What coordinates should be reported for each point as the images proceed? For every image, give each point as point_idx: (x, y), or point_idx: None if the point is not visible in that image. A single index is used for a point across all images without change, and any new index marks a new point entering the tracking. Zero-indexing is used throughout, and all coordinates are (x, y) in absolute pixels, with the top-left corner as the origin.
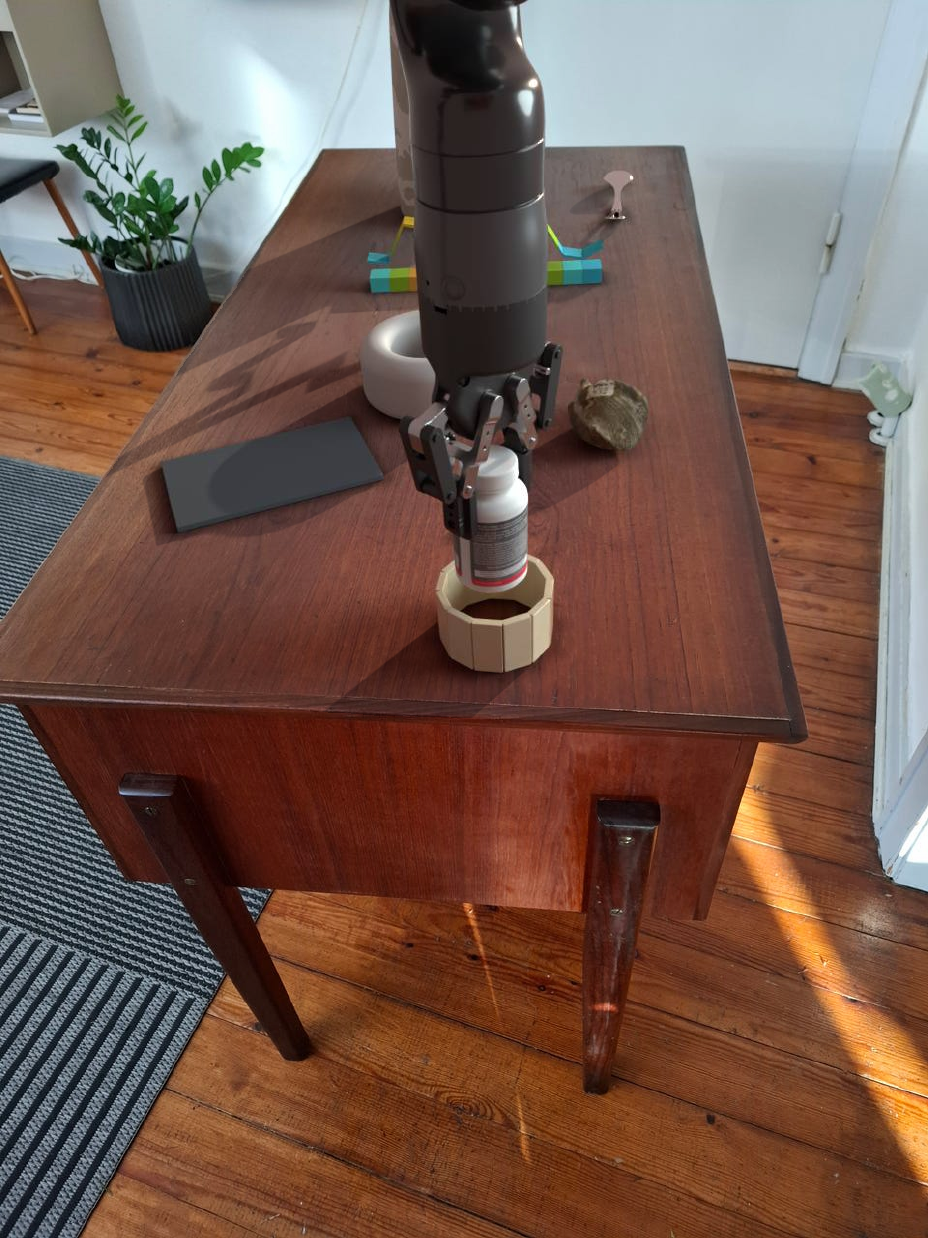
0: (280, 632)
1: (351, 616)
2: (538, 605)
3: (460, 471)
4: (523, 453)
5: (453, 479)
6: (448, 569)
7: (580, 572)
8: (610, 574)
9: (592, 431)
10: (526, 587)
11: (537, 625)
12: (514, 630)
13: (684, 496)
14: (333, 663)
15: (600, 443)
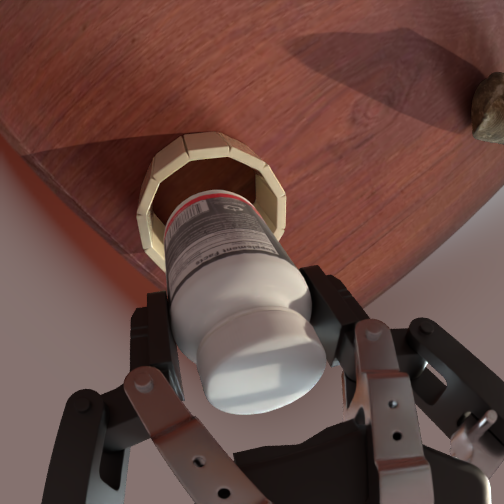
0: (42, 26)
1: (109, 54)
2: None
3: (208, 361)
4: (335, 362)
5: (126, 468)
6: (196, 156)
7: (327, 195)
8: (338, 218)
9: (482, 115)
10: (263, 198)
11: None
12: None
13: (442, 203)
14: (48, 106)
15: (474, 118)
